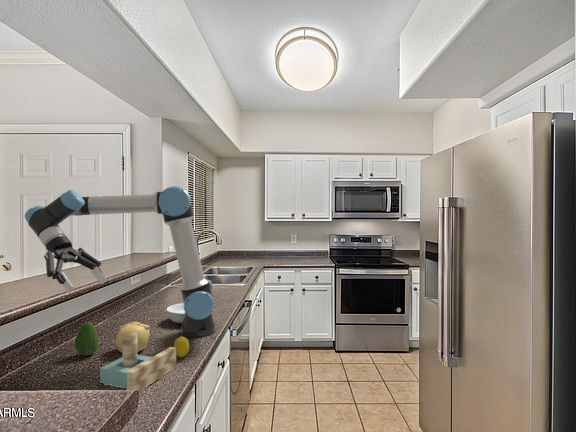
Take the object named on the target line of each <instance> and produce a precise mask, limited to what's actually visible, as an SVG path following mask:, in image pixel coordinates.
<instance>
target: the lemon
mask: <svg viewBox="0 0 576 432" xmlns="http://www.w3.org/2000/svg"><path fill="white" fill-rule="evenodd" d="M173 343H174V344H173V347H174V348H176V357H179V358H181V359H182V357H183V358H184V357H186V356H187V355H188V353H189V350H190V341H189V340H188V337H186V336H184V335H180V337H178V338H177V337H176V339H175V341H174V342H173Z"/></svg>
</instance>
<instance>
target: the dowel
mask: <svg viewBox="0 0 576 432" xmlns="http://www.w3.org/2000/svg"><path fill="white" fill-rule="evenodd" d="M137 355H138V352H137V333H127V334H124V335H123V336H122V355H121V357H122V367H125V368H133V367H134V366H136V365H137Z"/></svg>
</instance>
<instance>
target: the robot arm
mask: <svg viewBox="0 0 576 432" xmlns="http://www.w3.org/2000/svg"><path fill="white" fill-rule="evenodd" d="M132 213H133V214H135V213H137V214H138V213H156V215H162V218H163V221H164V224H166V225H167V226H169V230H170V234H171V239H172V243H173V245H174V247H173V248H174V249H175V250H174V251H175V254H176V259H177V262H178V268H179V272H180V275H181V280H182V285H181V287H180V293H181V297H182V303H184V311H185V317H184V320H183V323H181V327H180V334H181V336H183V337H186V338H200V337H206V336H210V335H212V334H214V333H215V332H216V329H217V327H216V322H215V320H214V317H213V314H212V313H213V310H214V308H215V298H214V297H213V292H212V291H213V289H212V288H213V283H212V281H211V280H210V279H208V278H205V274H204V272H203V271H204V270H203V266H202V263H201V258H200V255H199V254H200V253H199V249H198V246H197V245H198V244H197V241H196V235H195V232H194V228H193V225H192V224H193V223H192V220H193V219H194V217H195V215H194V212H193V208H192V202H191V196H190V194H189V192H188V191H187V190H186V189H185V188H183V187H180V186H175V185H174V186H169V187H167V188H165V189H164V190H162V191H156V192H155V193H153V194H152V193H151V194H128V195H127V194H126V195H125V194H123V195H103V196H102V195H101V196H100V195H98V196H81V195H80V194H79V193H78V192H76V191H75V190H73V189H68V190H67V191H66V192H64V193H62V194H60V195H59V196H58V197H57V198H56V199H54V200H52V201H51V202H50V203H49V204H48V205H46V206H43V205H35V206H34V207H31V208H29V209H28V210H26V211H25V214H24V219H25V221H26V222H27V224H28V226H29V228H31V230H32V231H33V232H34V233H35V236H37V238H38V239H39V241H40V243H41V244H42V245H43V246H44V247H45V250H47V251H46V253H45V254H44V255H43V256H44V257H43V258H44V260H45V263H46V264H45V266H46V277H47V278H51V279H53V280H57V282H58V283H59V285H62V287H63V288H64V289H65V291H66V292H67V293H70V292H71V291H73V289H74V288H75V286H74V284H73V283H72V281H71V280H70V279H69V277H68V276H67V275H66V274H65V272H62V269H63V266H64V264H67V263H74V264H79V265H81V266H83V267H85V268H87V269H88V270H91V274H92V275H93V276H94V277H95V279H96V280H97V281H98V282H99V284H100V285H104V284H105V282H107V277H106V276H105V275H104V273H103V271H102V270H101V268H100V266H101V265H102V262H101V261H99V260H98V259H96V258H94V257H93V256H92V255H90V254H89V253H87V252H86V251H85V250H84V248H82V247H79V248H77V249H75V248H73V243H72V241H71V240H70V239H69V238H68V236H67V235H66V233H65V232H64V230H62V228H61V226H60V225H59V224H60V223H62V222H63V221H65V220H66V219H68V218H69V217H70V216H75V217H76V216H79V217H80V216H86V215H87V216H90V215H110V214H112V215H114V214H132ZM54 259H56V265H55V260H54Z"/></svg>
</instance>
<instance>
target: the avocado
mask: <svg viewBox="0 0 576 432" xmlns="http://www.w3.org/2000/svg"><path fill="white" fill-rule="evenodd" d="M99 345H100V336H99V334H98V331H97V330H96V328H95V325H94V324H93V323H91V322H86V323H84V324H83V325H81V327H80V328H79V330H78V332H77V334H76V337H75V339H74V348H75V350H76V352H77V353H78V354H79V355H81V356H86V357H90V356H91V355H93V354H95V352H96V351H97V349H98V348H99Z"/></svg>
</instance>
